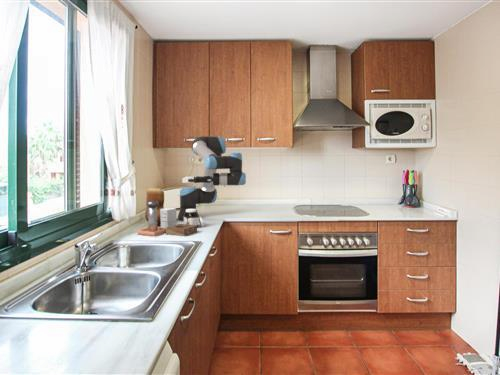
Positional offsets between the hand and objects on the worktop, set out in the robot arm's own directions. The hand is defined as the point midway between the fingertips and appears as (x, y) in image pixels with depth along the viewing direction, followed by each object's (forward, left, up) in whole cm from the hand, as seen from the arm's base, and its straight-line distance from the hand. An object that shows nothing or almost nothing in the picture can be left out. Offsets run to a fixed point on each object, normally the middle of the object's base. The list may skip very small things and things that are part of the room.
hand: (183, 179), depth 214 cm
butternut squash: (-12, -32, -32) cm, 47 cm away
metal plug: (+9, -16, -31) cm, 36 cm away
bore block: (+1, -1, -32) cm, 32 cm away
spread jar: (-18, -5, -32) cm, 37 cm away
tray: (+9, -16, -32) cm, 37 cm away
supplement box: (-8, -18, -32) cm, 38 cm away
